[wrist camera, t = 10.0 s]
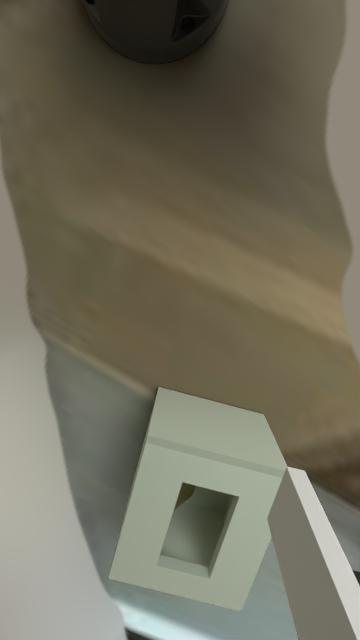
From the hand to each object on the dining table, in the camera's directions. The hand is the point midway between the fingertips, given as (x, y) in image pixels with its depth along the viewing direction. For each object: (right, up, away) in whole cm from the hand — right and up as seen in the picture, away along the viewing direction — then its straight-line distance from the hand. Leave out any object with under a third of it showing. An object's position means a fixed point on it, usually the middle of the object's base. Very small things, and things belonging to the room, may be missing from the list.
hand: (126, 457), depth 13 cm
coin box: (+4, -12, +29) cm, 32 cm away
